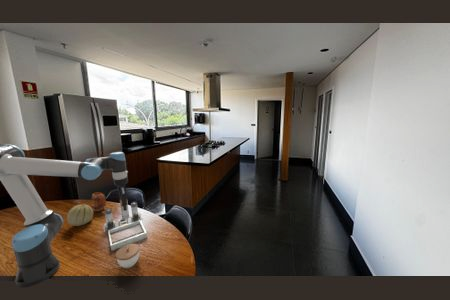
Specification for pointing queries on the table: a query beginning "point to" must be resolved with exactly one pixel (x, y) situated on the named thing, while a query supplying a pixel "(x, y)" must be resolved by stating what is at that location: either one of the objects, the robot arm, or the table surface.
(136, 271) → the table surface
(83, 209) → the cantaloupe
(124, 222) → the fuse holder
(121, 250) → the lidded jar
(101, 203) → the mug
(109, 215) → the fuse left
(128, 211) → the marked fuse
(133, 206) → the fuse right
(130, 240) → the tray
